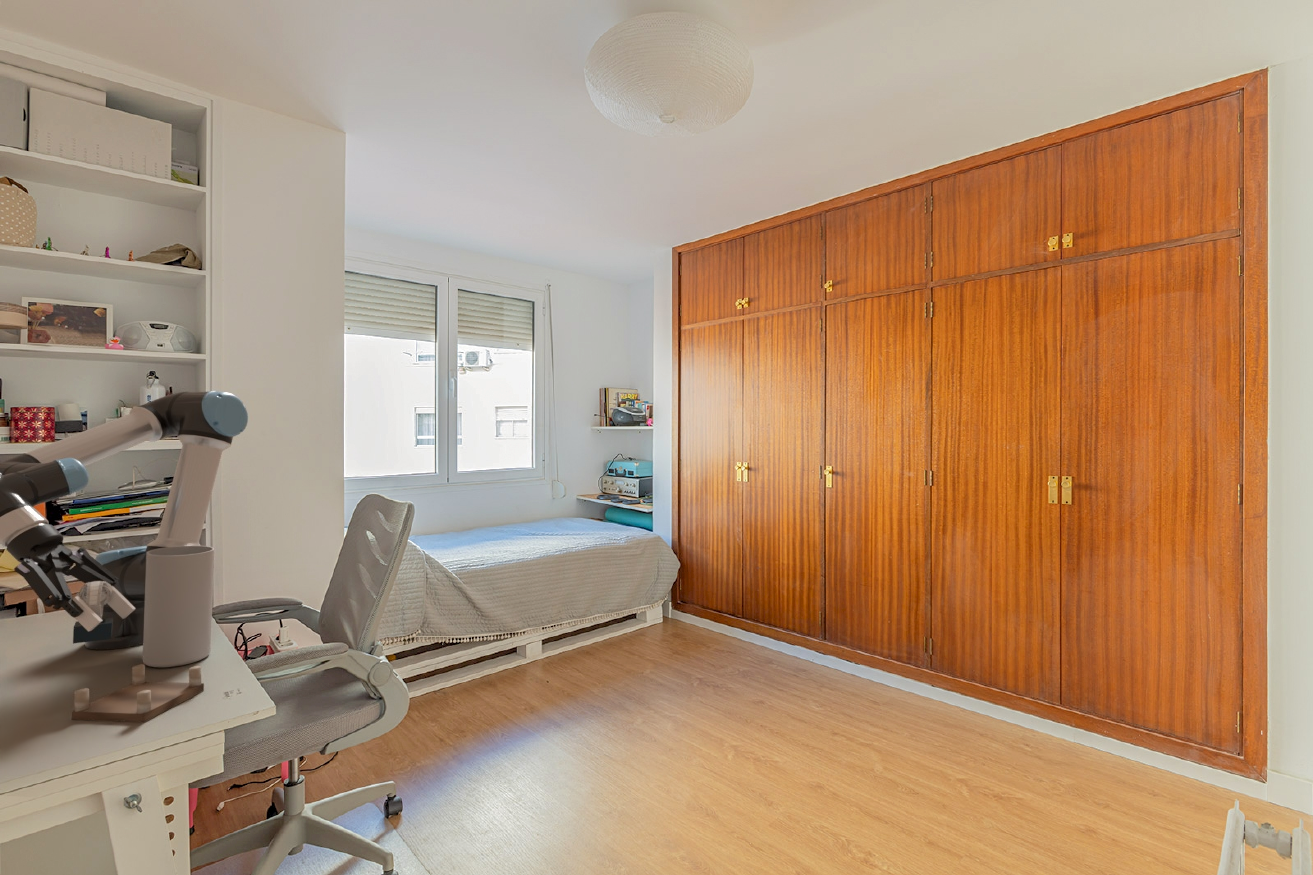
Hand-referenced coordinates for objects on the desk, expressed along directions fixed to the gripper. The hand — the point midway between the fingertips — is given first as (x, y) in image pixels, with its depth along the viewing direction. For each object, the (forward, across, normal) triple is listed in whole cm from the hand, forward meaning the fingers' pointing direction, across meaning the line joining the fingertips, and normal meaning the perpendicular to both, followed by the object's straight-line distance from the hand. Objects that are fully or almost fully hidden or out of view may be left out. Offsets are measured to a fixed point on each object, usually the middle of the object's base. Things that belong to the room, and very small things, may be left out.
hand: (113, 619), depth 124 cm
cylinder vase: (+10, -22, -12) cm, 27 cm away
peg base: (+16, +2, -6) cm, 17 cm away
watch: (0, 0, -5) cm, 5 cm away
